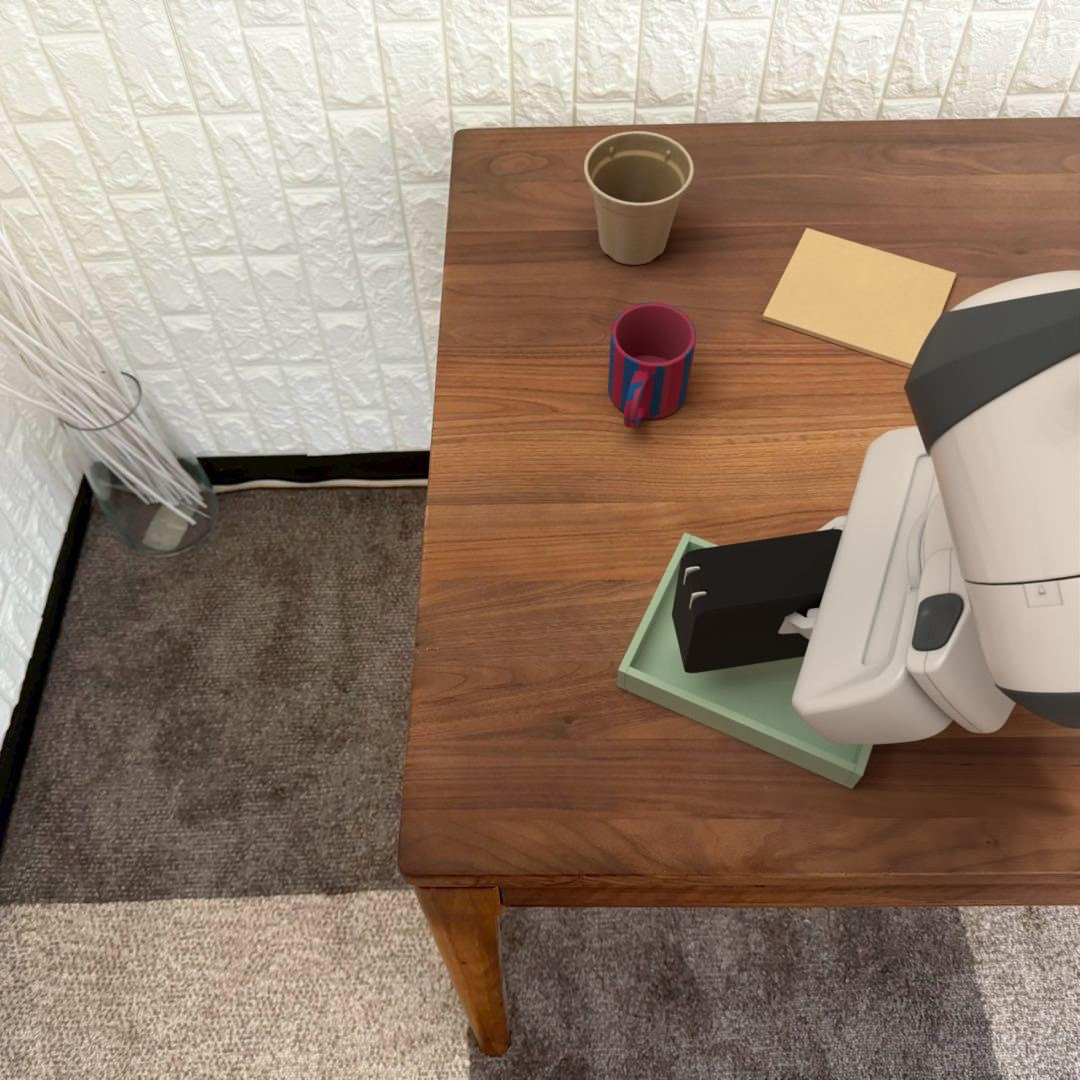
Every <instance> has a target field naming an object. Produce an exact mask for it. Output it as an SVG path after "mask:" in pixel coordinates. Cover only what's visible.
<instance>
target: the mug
mask: <svg viewBox="0 0 1080 1080" xmlns="http://www.w3.org/2000/svg"><path fill="white" fill-rule="evenodd" d="M696 342H697V330H696V327H695V325H694V322H693V321H692V319H691V318H690V317H689V315H687V313H685V312H684V311H682V310H681V309H679V308H678V307H675V306H673V305H671V304H667V303H664V302H657V301H656V302H652V301H650V302H641V303H636V304H634V305H632V306H631V305H630V306H629V307H628V308H626V309H624V310H623V311H621V312H620V313H619V314H618V315H617V317H615V319H614V321H613V323H612V324H611V329H610V341H609V343H610V344H609V361H608V364H609V365H608V377H607V378H608V380H607V392H608V396H609V398H610V400H611V402H612V403H613V404H614V406H615V407H616V408H617V409H618V410H620V411H621V412H623V424H624V427H626V428H628V429H637V428H638V427H640V424H641V422H642V420H658V419H663V418H666V417H668V416H671V415H672V414H674V413H675V412H677V411H678V410H679V409H680V408H681V407H682V406H683V405H684V403H685V401H686V399H687V397H688V391H689V385H690V379H691V374H692V368H693V367H692V366H693V362H694V361H693V360H694V354H695V348H696Z"/></svg>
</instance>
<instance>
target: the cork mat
mask: <svg viewBox="0 0 1080 1080" xmlns="http://www.w3.org/2000/svg"><path fill="white" fill-rule="evenodd" d="M956 277H957V272H953V271H950V270H947V269H944V268H940V267H937V266H934V265H930V264H928V263H924V262H921V261H917V260H914V259H911V258H907V257H904V256H901V255H897V254H894V253H891V252H888V251H884V250H881V249H878V248H874V247H871V246H869V245H864V244H861V243H858V242H855V241H851V240H848V239H845V238H842V237H838V236H836V235H832V234H829V233H825V232H822V231H818V230H815V229H812V228H809V227H805V230H804V232H803V234H802V236H801V238H800V240H799V241H798V244H797V246H796V248H795V250H794V252H793V254H792V256H791V257H790V260H789V262H788V264H787V265H786V268H785V270H784V272H783V273H782V276H781V278H780V280H779V282H778V283H777V286H776V288H775V290H774V292H773V294H772V295H771V298H770V300H769V301H768V304H767V306H766V307H765V310H764V311H763V314H762V317H761V320H763V321H765V322H768V323H770V324H771V323H772V324H774V325H776V326H781V327H783V328H787V329H789V330H792V331H796V332H798V333H802V334H804V335H808V336H811V337H813V338H817V339H820V340H823V341H825V342H829V343H831V344H835V345H838V346H840V347H844V348H846V349H850V350H853V351H857V352H859V353H862V354H864V355H868V356H871V357H873V358H877V359H880V360H883V361H886V362H889V363H892V364H895V365H899V366H902V367H905V368H906V369H907V368H908V369H910V370H911V368H912V365H913V363H914V361H915V359H916V357H917V355H918V352H919V350H920V348H921V346H922V345H923V343H924V341H925V339H926V337H927V336H928V334H929V332H930V330H931V329H932V327H933V326H934V324H935V323H936V321H937V320H938V318H939V317H940V315H941V314H942V313H943V312H944V311H943V310H944V308H945V306H946V302H947V301H948V299H949V296H950V293H951V291H952V287H953V284H954V283H955V279H956Z"/></svg>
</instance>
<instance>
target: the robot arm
mask: <svg viewBox="0 0 1080 1080" xmlns="http://www.w3.org/2000/svg"><path fill="white" fill-rule="evenodd" d="M903 390H904V392H905V396H906V399H907V402H908V404H909V407H910V410H911V412H912V415H913V417H914V421H915V423H916V425H913V426H907V427H902V428H895V429H891V430H888V431H885V432H883V433H882V434H881V435H879V436H878V437H877V438H875V439H874V440H873V441H871V442H870V443H869V445H868V446H867V448H866V452H865V454H864V460H863V462H862V466H861V468H860V471H859V476H858V478H857V482H856V485H855V488H854V492H853V494H852V498H851V501H850V504H849V507H848V512H847V514H845V515H841V516H836V517H835V518H833V519H832V520H830V521H829V522H828V523H826V524H825V525H823V526H821V527H820V528H819V529H818V530H816V531H822V530H828V529H840V530H842V534H841V538H840V541H839V545H838V549H837V552H836V555H835V558H834V561H833V565H832V568H831V571H830V574H829V578H828V581H827V584H826V587H825V591H824V594H823V597H822V601H821V604H820V607H819V608H814V609H809V610H808V613H807V618H805V617H804V616H802V615H800V614H798V613H796V612H794V613H792V614H790V615H788V616H786V617H785V618H784V619H785V620H784V622H783V624H782V626H781V628H780V630H779V632H778V633H780V634H788V633H800V634H801V635H803V636H804V637H806V638H807V639H809V644H808V647H807V650H806V654H805V657H804V660H803V664H802V667H801V670H800V673H799V677H798V680H797V683H796V687H795V690H794V693H793V696H792V705H793V707H794V709H795V710H796V712H797V713H798V714H799V715H800V717H801V718H802V719H803V720H804V721H805V722H806V723H807V724H808V725H809V726H810V727H811V728H812V729H813V730H814V731H815V732H817V733H818V734H819V735H820V736H822V737H823V738H825V739H826V740H828V741H830V742H833V743H837V744H847V745H869V744H873V745H885V744H886V745H887V744H898V743H899V744H900V743H909V742H916V741H922V740H925V739H928V738H932V737H934V736H936V735H938V734H940V733H941V732H943V731H944V730H946V729H947V728H948V727H949V726H950V725H951V724H952V722H953V721H954V722H955V723H957V724H958V725H960V726H961V727H962V728H963V729H965V730H966V731H968V732H970V733H975V734H991V733H994V732H997V731H998V730H1000V729H1001V728H1002V727H1003V726H1004V725H1005V724H1006V722H1007V720H1008V719H1009V717H1010V716H1011V713H1012V711H1013V710H1014V708H1015V706H1016V705H1018V706H1019V707H1021V708H1023V709H1025V710H1026V711H1028V712H1030V713H1032V714H1033V715H1035V716H1038V717H1040V718H1042V719H1043V720H1046V721H1048V722H1051V723H1053V724H1055V725H1058V726H1059V727H1062V728H1066V729H1074V730H1080V269H1070V270H1069V269H1067V270H1058V271H1050V272H1049V271H1048V272H1042V273H1037V274H1032V275H1028V276H1027V275H1026V276H1023V277H1019V278H1014V279H1011V280H1008V281H1005V282H1001V283H998V284H995V285H993V286H991V287H987V288H986V289H983V290H981V291H978V292H977V293H975V294H973V295H971V296H968V297H967V298H965V299H963V300H962V301H960V302H959V303H957V304H956V305H955V306H953V307H952V308H951V309H950V310H946V311H942V314H941V315H940V317H939V318H938V320H937V321H936V323H935V324H934V326H933V327H932V329H931V330H930V332H929V334H928V336H927V337H926V339H925V341H924V343H923V345H922V346H921V348H920V350H919V352H918V355H917V357H916V359H915V361H914V363H913V365H912V368H911V369H910V370H909V372H908V375H907V377H906V380H905V383H904V385H903Z"/></svg>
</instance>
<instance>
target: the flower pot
mask: <svg viewBox="0 0 1080 1080" xmlns="http://www.w3.org/2000/svg"><path fill="white" fill-rule="evenodd" d="M694 171H695V168H694V162H693V159H692V157H691V155H690V154H689V152H688V151H687V150H686V148H685V147H684V146H683V145H682V144H680V142H677V141H676V140H675V139H673V138H671V137H669V136H666V135H663V134H661V133H656V132H650V131H645V130H644V131H642V130H633V131H632V130H631V131H624V132H623V131H622V132H618V133H615V134H611V135H608V136H607V137H604V138H603V139H601V140H600V141H598V142H597V143H596V144H594V145H593V146H592V147H591V148H590V149H589V151H588V152H587V154H586V156H585V159H584V162H583V173H584V178H585V180H586V182H587V184H588V186H589V189H590V191H591V194H592V195H593V202H594V209H595V216H596V223H597V231H598V233H597V234H598V243H599V246H600V248H601V251H602V252H603V253H604V254H605V255H608V256H609V257H610V258H611V259H612V260H613V261H615V262H616V263H619V264H622V265H628V266H639V265H644V264H648V263H651V262H652V261H653V260H654V259H656V258H657V257H658V256H659V255H662V254H663V253H664V251H665V250H666V249H665V248H666V246H667V242H668V239H669V235H670V232H671V229H672V225H673V223H674V219H675V216H676V212H677V209H678V205H679V202H680V200H681V199H682V197H683V196H684V194H685V192H686V190H687V189H688V188H689V186H690V185H691V182H692V181H693V178H694Z"/></svg>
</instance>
